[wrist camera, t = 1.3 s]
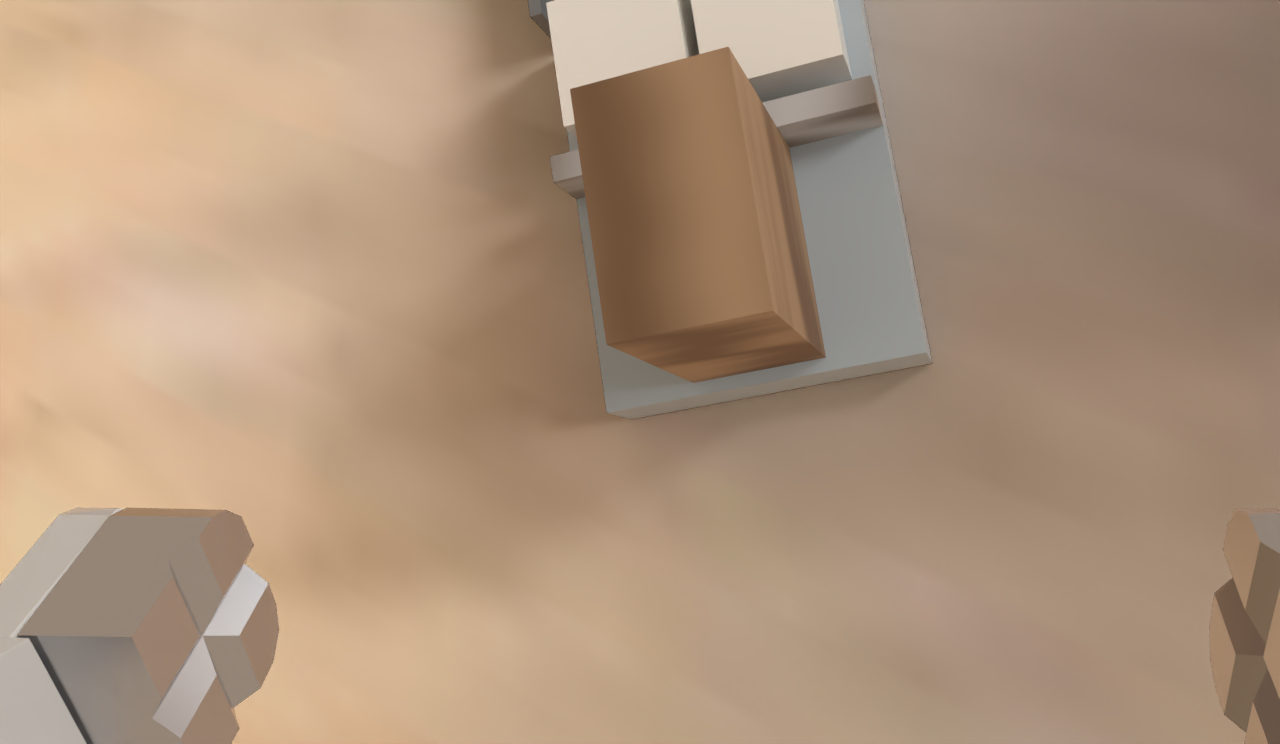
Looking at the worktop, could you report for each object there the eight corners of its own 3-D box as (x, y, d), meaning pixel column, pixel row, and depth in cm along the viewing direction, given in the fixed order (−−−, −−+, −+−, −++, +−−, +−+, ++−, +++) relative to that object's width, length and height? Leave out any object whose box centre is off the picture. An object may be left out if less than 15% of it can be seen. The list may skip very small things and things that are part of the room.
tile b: (689, -6, 47) (671, -35, 44) (708, 115, 46) (692, 93, 43) (569, 28, 48) (546, 2, 46) (586, 146, 47) (563, 126, 45)
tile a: (828, -46, 45) (818, -77, 43) (852, 79, 44) (842, 54, 42) (701, -9, 47) (684, -38, 44) (721, 112, 46) (705, 89, 43)
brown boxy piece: (878, 99, 44) (840, -18, 34) (923, 338, 42) (897, 285, 33) (573, 175, 47) (462, 87, 38) (604, 399, 46) (497, 367, 36)
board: (857, -29, 48) (847, -64, 45) (932, 363, 45) (926, 352, 42) (577, 49, 51) (551, 21, 48) (630, 419, 48) (606, 412, 46)
